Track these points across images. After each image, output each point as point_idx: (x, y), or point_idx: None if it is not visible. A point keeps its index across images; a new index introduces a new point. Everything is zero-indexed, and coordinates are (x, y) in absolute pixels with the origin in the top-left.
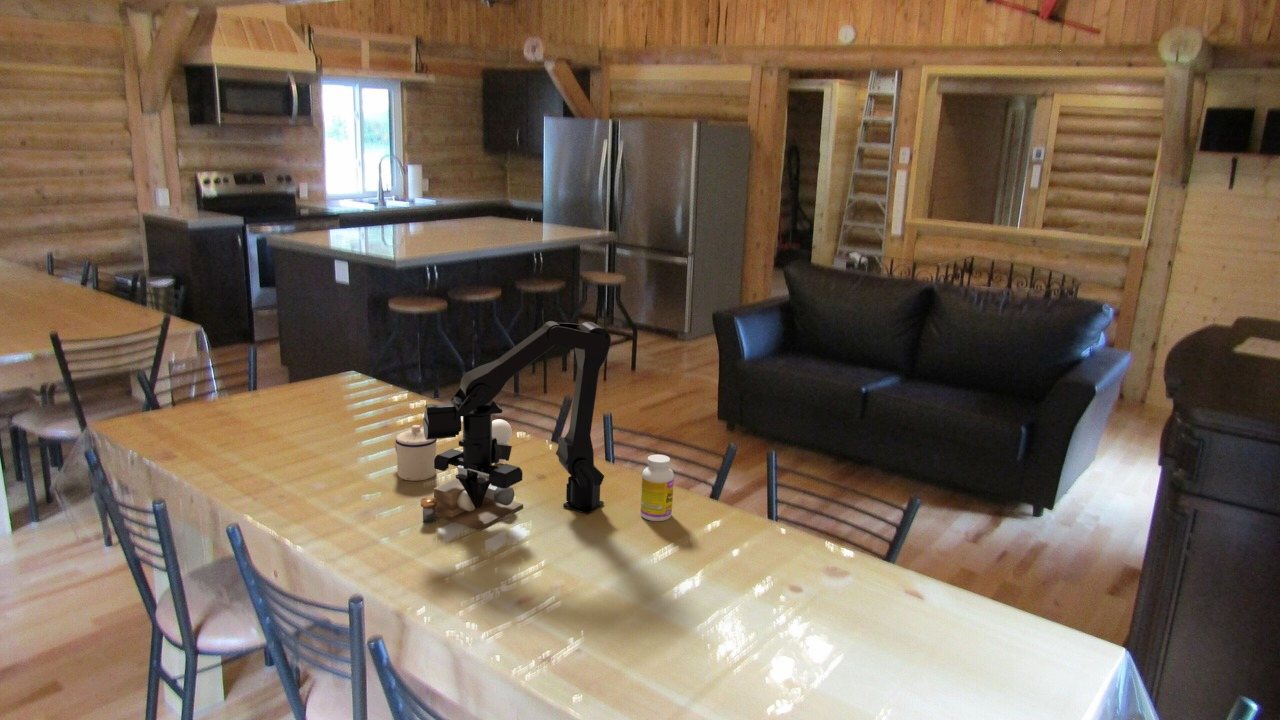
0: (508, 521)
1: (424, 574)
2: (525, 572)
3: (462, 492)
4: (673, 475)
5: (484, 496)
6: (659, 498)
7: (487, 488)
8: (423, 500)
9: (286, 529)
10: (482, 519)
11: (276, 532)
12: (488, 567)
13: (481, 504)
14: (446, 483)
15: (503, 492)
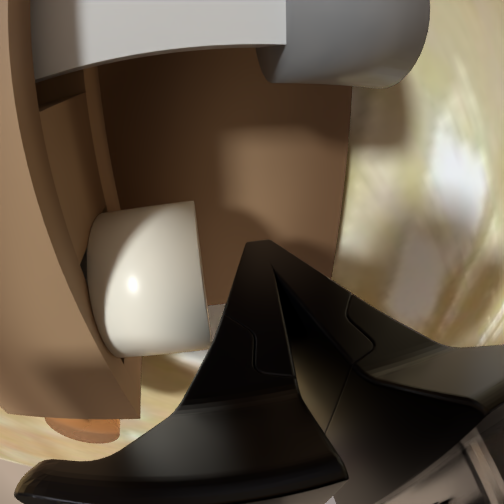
0: (389, 125)
1: None
2: (498, 318)
3: (125, 352)
4: None
5: (322, 275)
6: None
7: (386, 320)
8: (74, 434)
9: (12, 456)
10: (290, 225)
11: (18, 462)
12: None
13: (279, 246)
14: None
15: (400, 71)
